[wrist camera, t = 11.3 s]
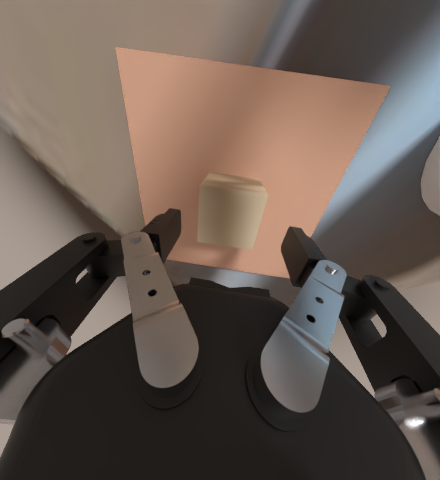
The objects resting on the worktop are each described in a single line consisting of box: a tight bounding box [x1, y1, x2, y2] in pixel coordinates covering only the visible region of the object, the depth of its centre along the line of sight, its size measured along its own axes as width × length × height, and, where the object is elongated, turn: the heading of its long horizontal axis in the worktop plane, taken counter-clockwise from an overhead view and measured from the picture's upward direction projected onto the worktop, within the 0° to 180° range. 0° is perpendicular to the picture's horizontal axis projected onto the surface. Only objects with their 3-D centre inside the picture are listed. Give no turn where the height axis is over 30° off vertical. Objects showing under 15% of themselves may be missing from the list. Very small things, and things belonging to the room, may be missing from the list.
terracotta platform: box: [116, 47, 391, 278], centre depth 19 cm, size 20×20×4 cm
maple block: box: [197, 172, 268, 250], centre depth 15 cm, size 5×5×5 cm
